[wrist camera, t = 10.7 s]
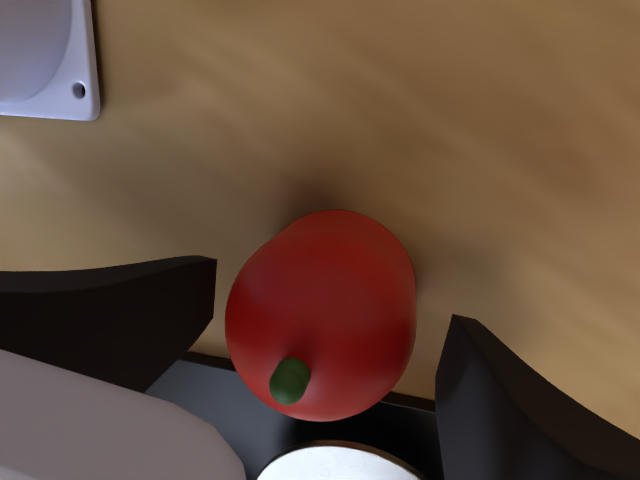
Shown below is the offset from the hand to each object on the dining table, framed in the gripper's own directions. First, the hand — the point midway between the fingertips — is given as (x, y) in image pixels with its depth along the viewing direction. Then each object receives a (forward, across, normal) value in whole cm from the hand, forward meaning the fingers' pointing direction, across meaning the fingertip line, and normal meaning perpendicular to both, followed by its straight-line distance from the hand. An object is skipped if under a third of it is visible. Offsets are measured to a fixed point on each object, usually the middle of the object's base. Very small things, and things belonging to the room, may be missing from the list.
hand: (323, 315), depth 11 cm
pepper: (+2, 0, 0) cm, 2 cm away
